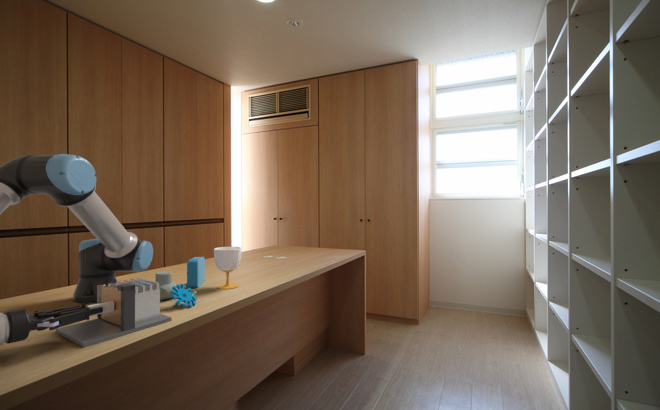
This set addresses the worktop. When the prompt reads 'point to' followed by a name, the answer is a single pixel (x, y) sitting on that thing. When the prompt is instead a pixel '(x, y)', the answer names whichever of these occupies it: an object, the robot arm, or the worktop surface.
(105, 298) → the bar
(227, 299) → the worktop surface
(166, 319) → the cooler board
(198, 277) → the data package
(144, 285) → the heat sink
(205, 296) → the worktop surface
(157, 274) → the air freshener
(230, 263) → the cup
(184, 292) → the gear
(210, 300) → the worktop surface
